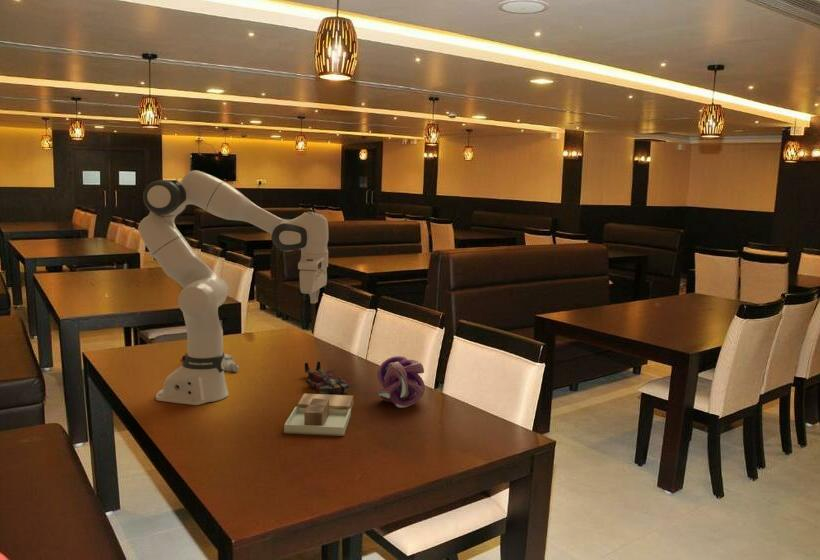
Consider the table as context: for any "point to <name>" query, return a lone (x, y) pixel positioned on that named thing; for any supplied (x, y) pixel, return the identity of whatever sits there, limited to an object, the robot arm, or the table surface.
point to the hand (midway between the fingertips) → (314, 302)
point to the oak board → (334, 401)
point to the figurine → (325, 381)
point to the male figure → (230, 364)
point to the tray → (332, 426)
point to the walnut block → (317, 412)
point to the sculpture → (401, 381)
